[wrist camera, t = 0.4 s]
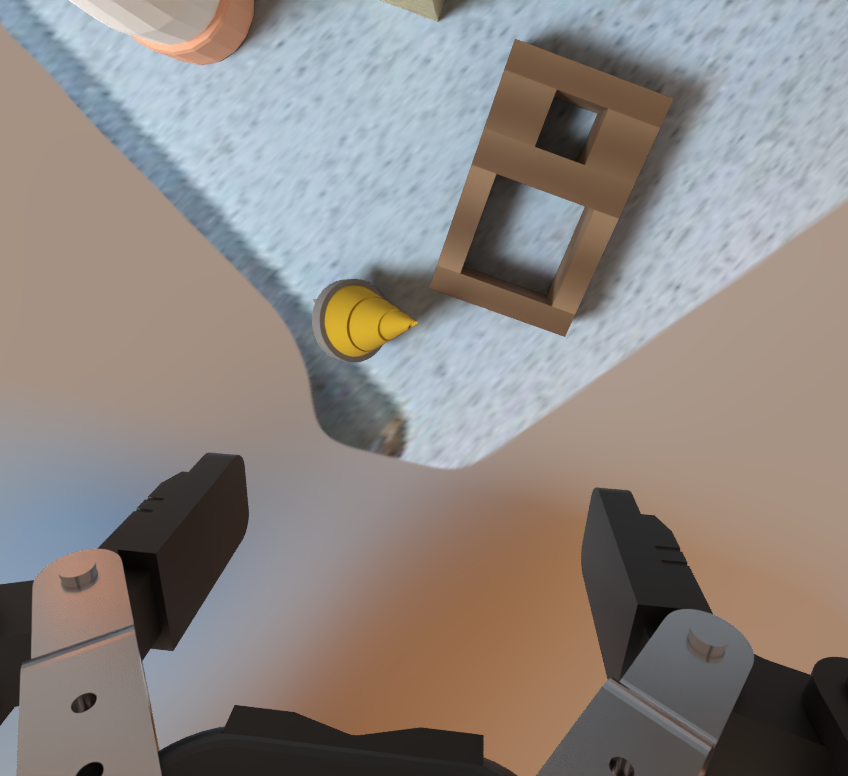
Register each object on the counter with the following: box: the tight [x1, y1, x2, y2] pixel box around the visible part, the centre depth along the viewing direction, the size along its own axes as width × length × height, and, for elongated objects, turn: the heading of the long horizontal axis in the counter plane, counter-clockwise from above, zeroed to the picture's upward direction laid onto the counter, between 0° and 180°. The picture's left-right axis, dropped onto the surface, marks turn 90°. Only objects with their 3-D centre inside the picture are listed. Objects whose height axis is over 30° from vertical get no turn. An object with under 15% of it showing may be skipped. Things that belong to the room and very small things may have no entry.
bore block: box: [429, 39, 673, 337], centre depth 34 cm, size 14×9×3 cm, turn 161°
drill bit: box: [312, 279, 418, 362], centre depth 36 cm, size 5×5×10 cm
